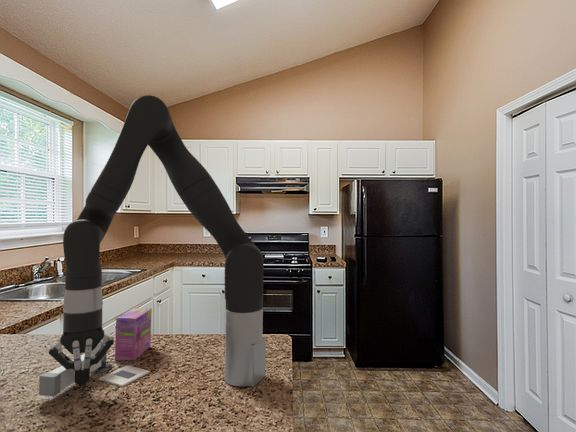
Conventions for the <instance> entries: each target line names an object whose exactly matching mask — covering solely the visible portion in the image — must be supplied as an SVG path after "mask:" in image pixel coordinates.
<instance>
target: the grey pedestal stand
mask: <svg viewBox="0 0 576 432" xmlns="http://www.w3.org/2000/svg"><path fill="white" fill-rule="evenodd" d="M112 367H113V365H112V364H111V363H107V353H106V354H105V355H104V356H103V357H102V359H101V367H99V368H97V369H96V370H94V371H92V372H91V373H90V374H103V373H106V372H108V371H110V370H112Z"/></svg>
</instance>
